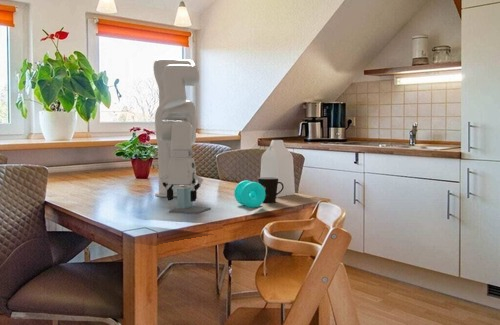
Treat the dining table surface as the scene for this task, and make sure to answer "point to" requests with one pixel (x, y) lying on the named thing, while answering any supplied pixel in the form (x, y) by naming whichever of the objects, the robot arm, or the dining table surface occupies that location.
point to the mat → (190, 210)
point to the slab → (183, 197)
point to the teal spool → (249, 188)
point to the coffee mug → (270, 188)
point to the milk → (279, 167)
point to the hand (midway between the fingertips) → (181, 200)
